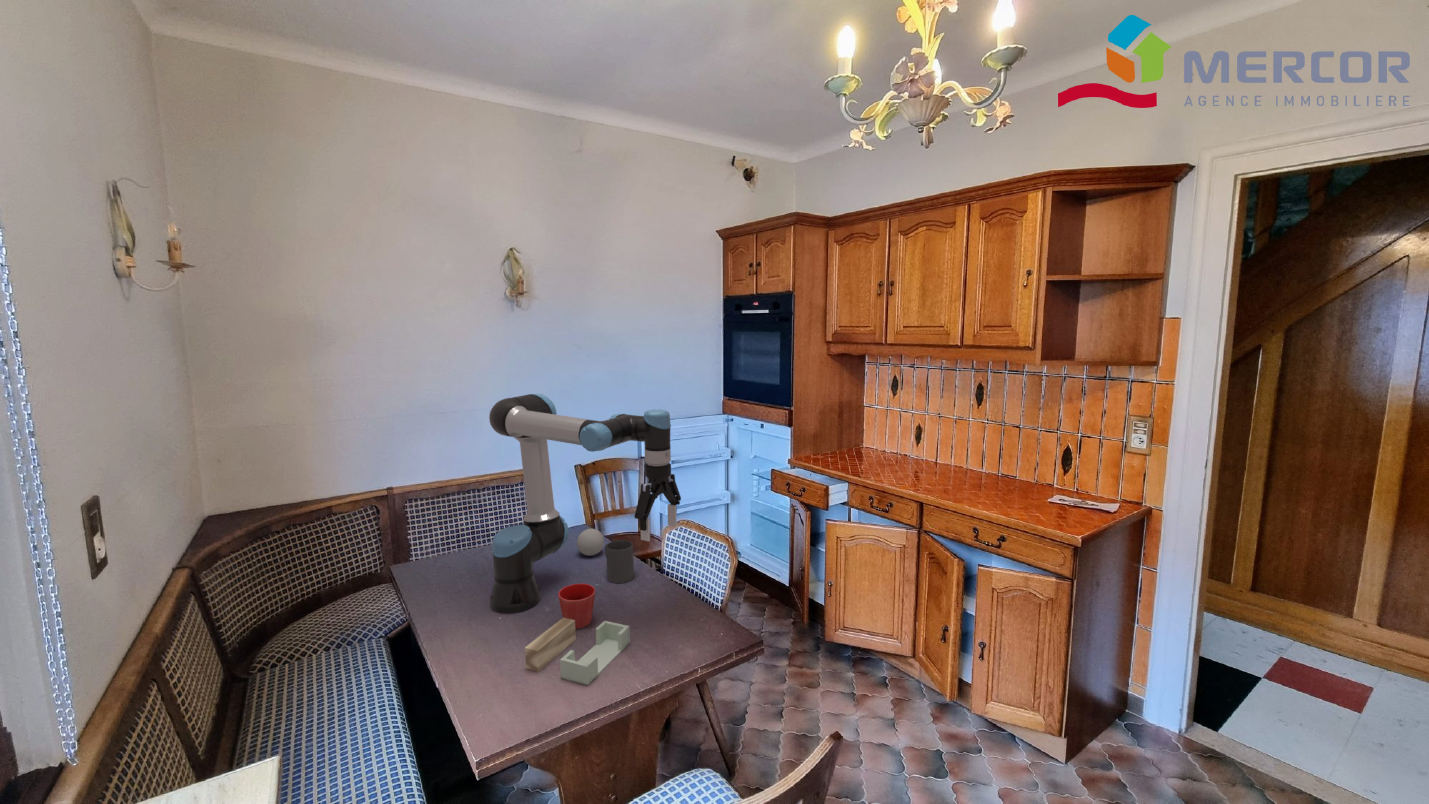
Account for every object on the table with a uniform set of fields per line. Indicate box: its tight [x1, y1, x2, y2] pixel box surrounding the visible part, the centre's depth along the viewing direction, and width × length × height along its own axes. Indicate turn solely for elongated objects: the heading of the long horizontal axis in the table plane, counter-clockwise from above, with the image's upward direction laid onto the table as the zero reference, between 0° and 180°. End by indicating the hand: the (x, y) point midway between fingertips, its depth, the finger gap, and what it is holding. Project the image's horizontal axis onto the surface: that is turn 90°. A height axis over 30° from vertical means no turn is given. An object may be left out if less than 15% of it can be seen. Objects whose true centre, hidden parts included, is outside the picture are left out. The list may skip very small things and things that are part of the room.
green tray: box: [559, 620, 631, 686], centre depth 151 cm, size 8×20×5 cm, turn 158°
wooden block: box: [524, 617, 577, 673], centre depth 154 cm, size 4×16×6 cm, turn 158°
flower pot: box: [557, 583, 596, 630], centre depth 169 cm, size 11×11×10 cm
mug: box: [604, 539, 635, 584], centre depth 200 cm, size 14×9×12 cm
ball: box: [576, 528, 605, 557], centre depth 218 cm, size 10×10×10 cm
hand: (659, 532), depth 170 cm, fingers open, 13 cm apart
